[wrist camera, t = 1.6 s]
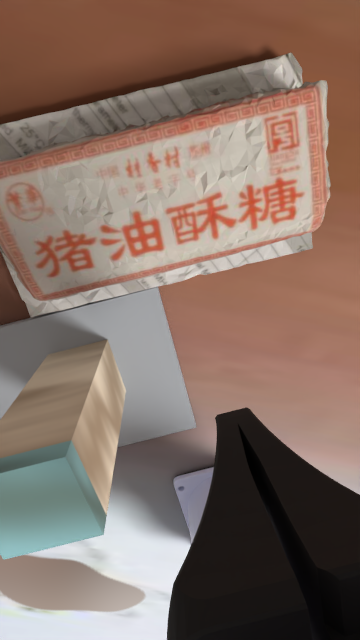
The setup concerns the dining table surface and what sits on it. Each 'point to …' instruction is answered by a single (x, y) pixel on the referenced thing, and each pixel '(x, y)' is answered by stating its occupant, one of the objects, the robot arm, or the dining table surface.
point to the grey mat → (128, 350)
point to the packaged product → (163, 184)
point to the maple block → (60, 451)
